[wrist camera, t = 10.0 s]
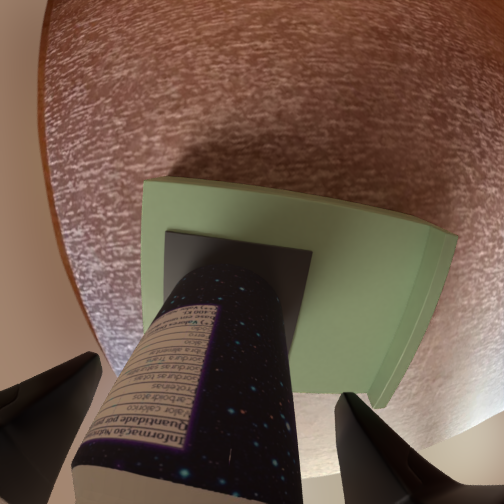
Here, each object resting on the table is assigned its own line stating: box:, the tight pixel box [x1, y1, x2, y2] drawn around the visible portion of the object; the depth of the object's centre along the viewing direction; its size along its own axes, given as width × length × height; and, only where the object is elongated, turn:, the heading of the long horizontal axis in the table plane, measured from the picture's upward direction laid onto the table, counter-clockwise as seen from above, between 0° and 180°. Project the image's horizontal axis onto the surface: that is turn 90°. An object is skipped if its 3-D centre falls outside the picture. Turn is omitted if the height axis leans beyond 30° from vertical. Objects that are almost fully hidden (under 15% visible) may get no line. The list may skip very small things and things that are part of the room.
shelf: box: [141, 176, 458, 409], centre depth 15 cm, size 16×12×5 cm
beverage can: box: [71, 264, 303, 504], centre depth 9 cm, size 6×6×12 cm
